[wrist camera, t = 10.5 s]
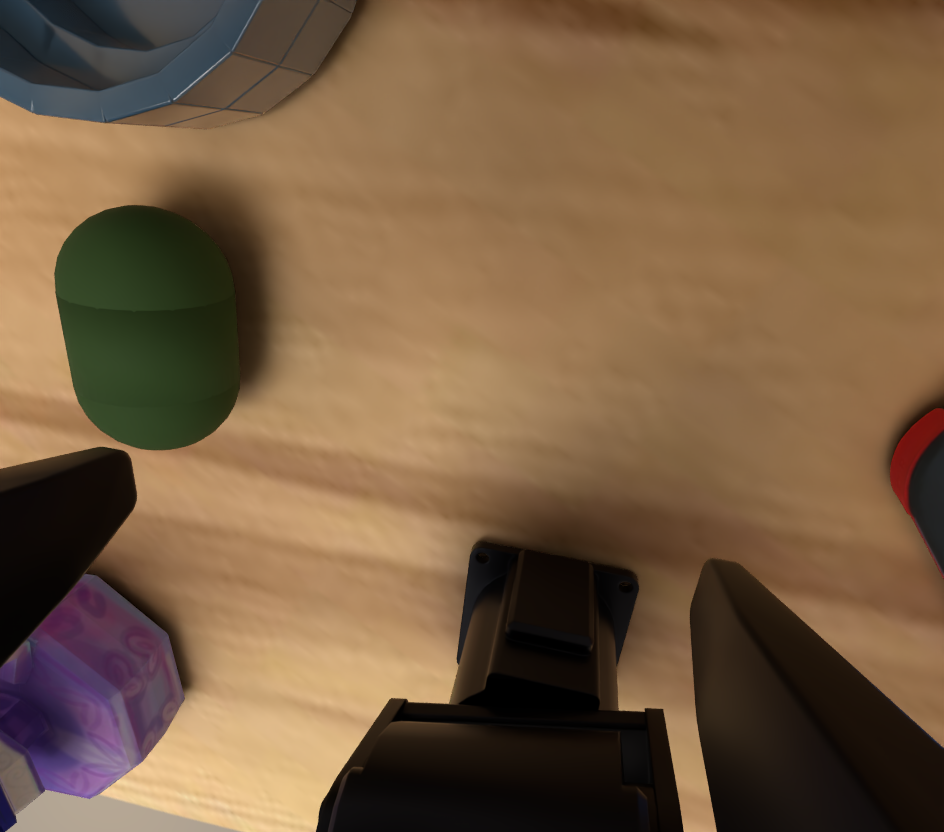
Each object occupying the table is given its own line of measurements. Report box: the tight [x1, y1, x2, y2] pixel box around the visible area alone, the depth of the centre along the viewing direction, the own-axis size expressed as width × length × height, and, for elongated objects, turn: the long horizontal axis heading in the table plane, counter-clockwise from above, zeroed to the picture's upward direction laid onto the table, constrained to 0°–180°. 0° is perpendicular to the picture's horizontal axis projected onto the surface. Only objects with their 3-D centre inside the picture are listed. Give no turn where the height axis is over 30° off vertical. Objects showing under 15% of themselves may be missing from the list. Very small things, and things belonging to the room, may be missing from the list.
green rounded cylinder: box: [54, 205, 240, 450], centre depth 19 cm, size 8×5×5 cm, turn 174°
